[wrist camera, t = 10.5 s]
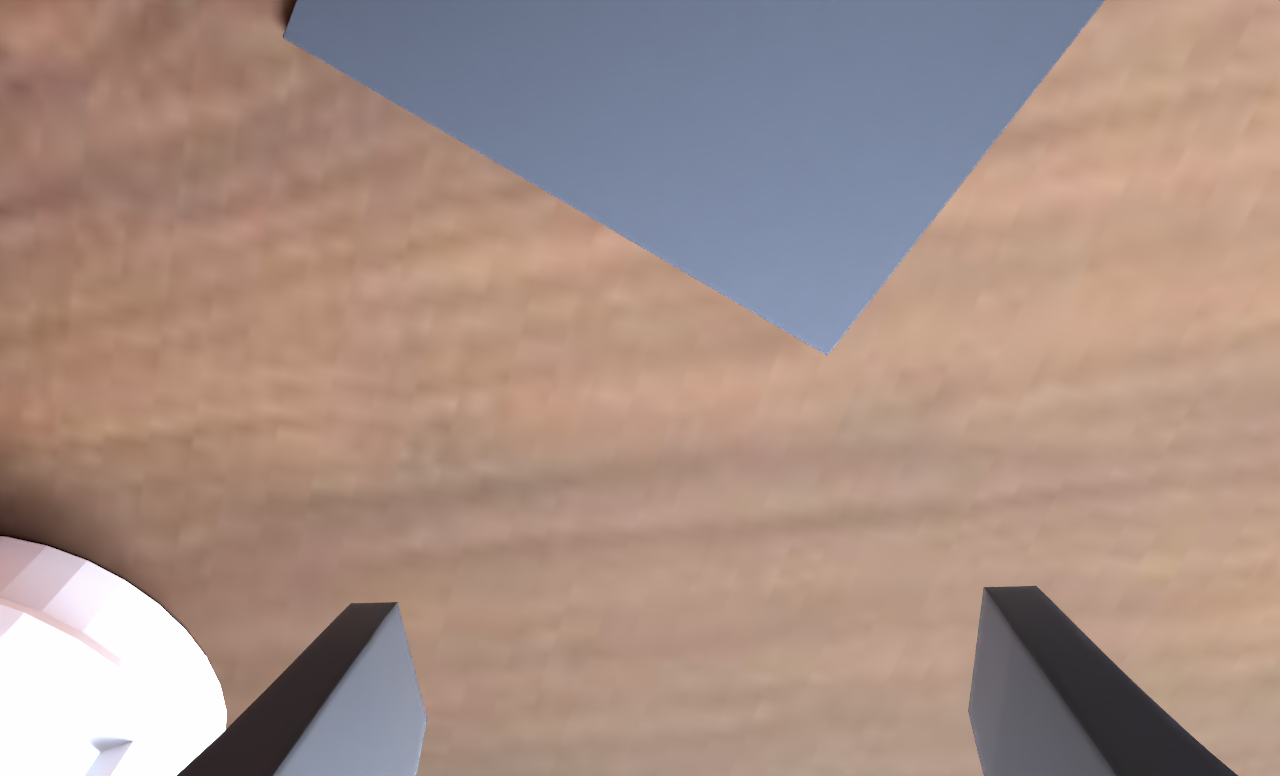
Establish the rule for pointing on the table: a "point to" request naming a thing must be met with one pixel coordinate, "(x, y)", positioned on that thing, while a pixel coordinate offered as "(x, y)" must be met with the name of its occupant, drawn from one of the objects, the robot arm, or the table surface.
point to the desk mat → (721, 119)
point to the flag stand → (95, 673)
